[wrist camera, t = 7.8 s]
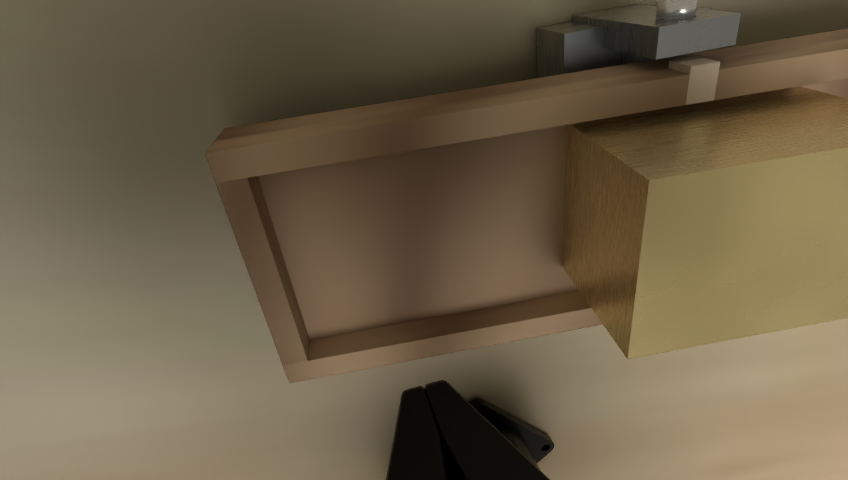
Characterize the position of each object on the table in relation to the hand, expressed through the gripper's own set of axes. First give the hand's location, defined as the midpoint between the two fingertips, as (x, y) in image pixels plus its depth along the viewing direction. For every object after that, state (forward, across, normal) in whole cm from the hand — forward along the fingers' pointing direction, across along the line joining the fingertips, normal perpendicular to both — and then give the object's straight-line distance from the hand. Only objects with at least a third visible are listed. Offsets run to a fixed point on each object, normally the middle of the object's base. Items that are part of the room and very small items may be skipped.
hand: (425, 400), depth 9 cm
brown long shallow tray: (+6, -9, 0) cm, 11 cm away
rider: (+6, -9, 0) cm, 11 cm away
